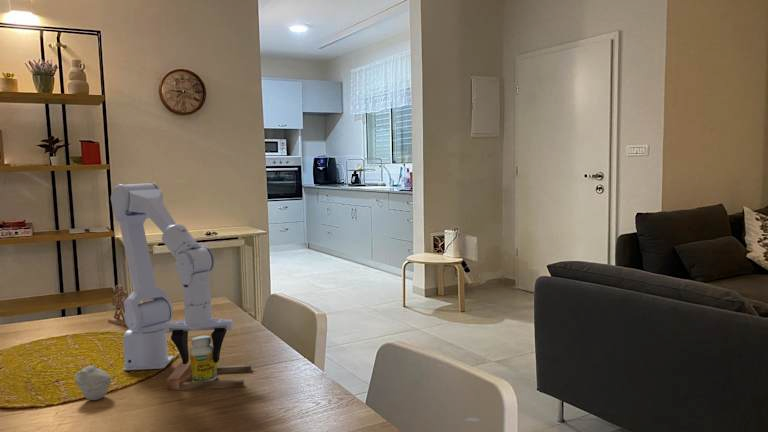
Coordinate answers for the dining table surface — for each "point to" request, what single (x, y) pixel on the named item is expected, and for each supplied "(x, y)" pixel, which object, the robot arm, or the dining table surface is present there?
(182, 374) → the guide channel
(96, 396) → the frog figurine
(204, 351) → the supplement bottle
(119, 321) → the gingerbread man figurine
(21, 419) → the dining table surface
